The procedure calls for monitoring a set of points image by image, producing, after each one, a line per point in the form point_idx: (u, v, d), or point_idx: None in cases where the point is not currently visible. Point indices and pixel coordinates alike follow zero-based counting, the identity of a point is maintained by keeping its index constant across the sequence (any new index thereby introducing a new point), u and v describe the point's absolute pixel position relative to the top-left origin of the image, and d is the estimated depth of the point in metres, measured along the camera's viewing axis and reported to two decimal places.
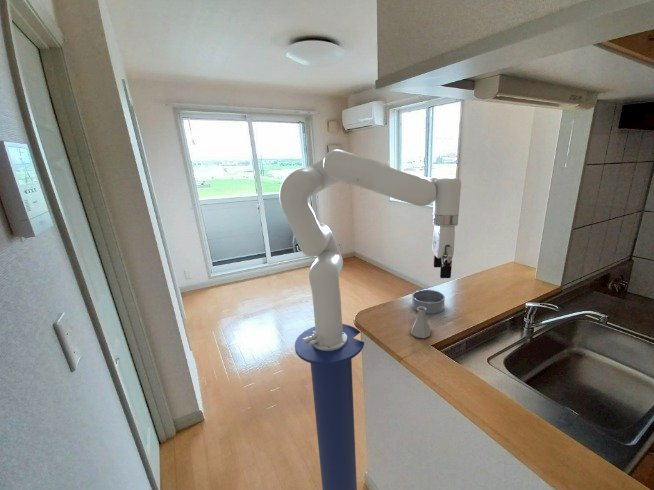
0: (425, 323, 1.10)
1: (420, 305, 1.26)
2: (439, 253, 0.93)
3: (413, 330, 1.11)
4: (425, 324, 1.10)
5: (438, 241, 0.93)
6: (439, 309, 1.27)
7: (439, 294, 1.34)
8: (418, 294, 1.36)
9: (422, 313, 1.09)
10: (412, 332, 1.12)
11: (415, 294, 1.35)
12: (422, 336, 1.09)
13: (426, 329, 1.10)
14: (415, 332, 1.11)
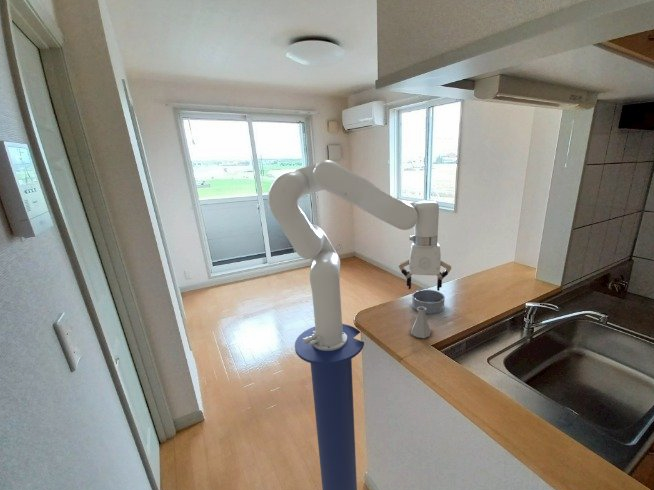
0: (425, 323, 1.10)
1: (420, 305, 1.26)
2: (439, 269, 1.01)
3: (413, 330, 1.11)
4: (425, 324, 1.10)
5: (437, 259, 1.00)
6: (439, 309, 1.27)
7: (439, 294, 1.34)
8: (418, 294, 1.36)
9: (422, 313, 1.09)
10: (412, 332, 1.12)
11: (415, 294, 1.35)
12: (422, 336, 1.09)
13: (426, 329, 1.10)
14: (415, 332, 1.11)
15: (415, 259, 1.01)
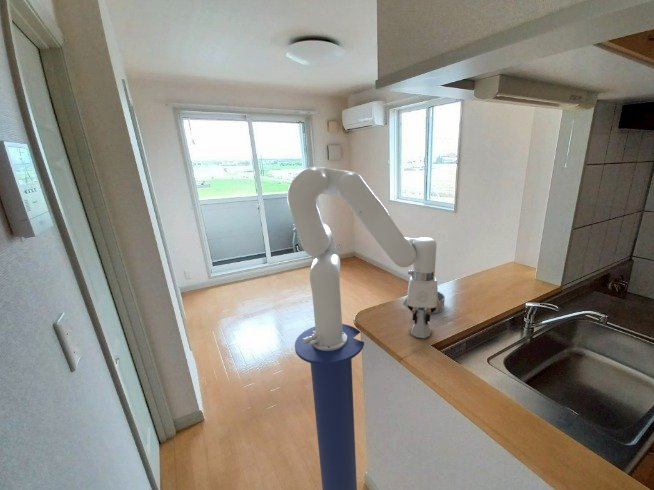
0: (425, 323, 1.10)
1: None
2: (436, 303, 1.05)
3: (413, 330, 1.11)
4: (425, 324, 1.10)
5: (434, 293, 1.04)
6: (439, 309, 1.27)
7: (439, 294, 1.34)
8: None
9: (422, 313, 1.09)
10: (412, 332, 1.12)
11: None
12: (422, 336, 1.09)
13: (426, 329, 1.10)
14: (415, 332, 1.11)
15: (413, 293, 1.05)
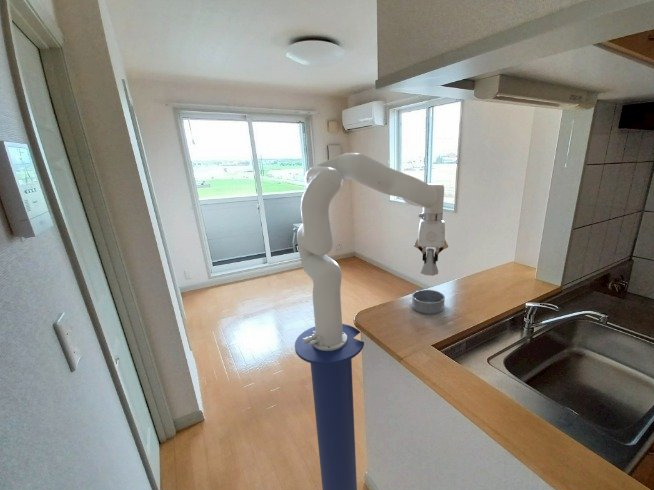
0: (433, 262, 1.23)
1: (420, 305, 1.26)
2: (444, 242, 1.19)
3: (423, 269, 1.25)
4: (433, 263, 1.23)
5: (442, 233, 1.18)
6: (439, 309, 1.27)
7: (439, 294, 1.34)
8: (418, 294, 1.36)
9: (431, 253, 1.22)
10: (422, 271, 1.25)
11: (415, 294, 1.35)
12: (431, 274, 1.23)
13: (434, 268, 1.24)
14: (424, 270, 1.24)
15: (423, 233, 1.19)
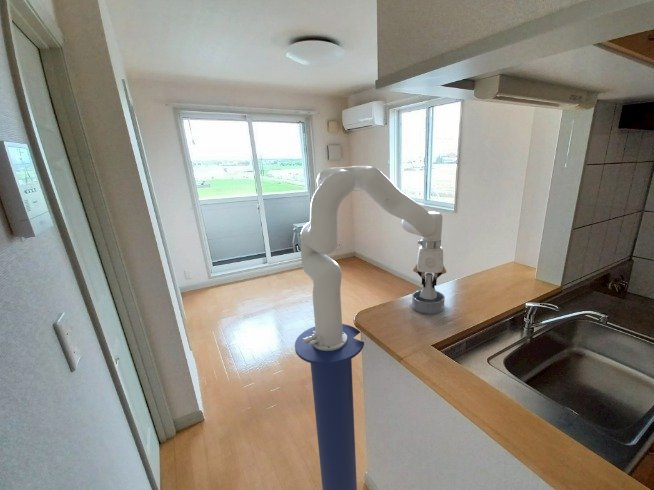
0: (432, 287, 1.28)
1: (420, 305, 1.26)
2: (442, 268, 1.23)
3: (422, 293, 1.29)
4: (432, 287, 1.28)
5: (440, 260, 1.22)
6: (439, 309, 1.27)
7: (439, 294, 1.34)
8: (418, 294, 1.36)
9: (430, 278, 1.27)
10: (421, 295, 1.29)
11: (415, 294, 1.35)
12: (430, 298, 1.27)
13: (433, 292, 1.28)
14: (423, 294, 1.29)
15: (422, 259, 1.23)
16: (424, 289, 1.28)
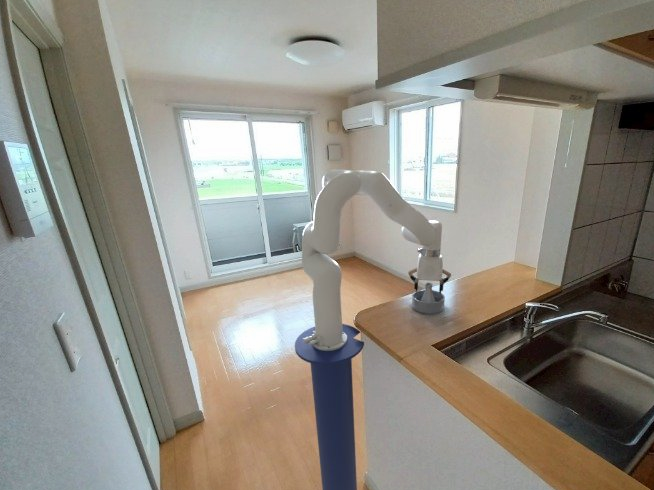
0: (431, 296, 1.29)
1: (420, 305, 1.26)
2: (441, 276, 1.24)
3: None
4: (431, 297, 1.29)
5: (439, 268, 1.23)
6: (439, 309, 1.27)
7: (439, 294, 1.34)
8: (418, 294, 1.36)
9: (429, 287, 1.28)
10: None
11: (415, 294, 1.35)
12: None
13: (432, 301, 1.29)
14: None
15: (422, 267, 1.24)
16: (423, 299, 1.30)
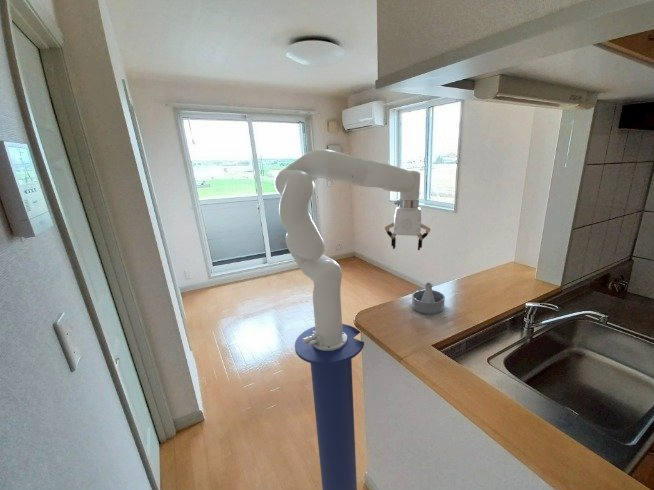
0: (431, 296, 1.29)
1: (420, 305, 1.26)
2: (420, 230, 1.16)
3: None
4: (431, 297, 1.29)
5: (418, 221, 1.14)
6: (439, 309, 1.27)
7: (439, 294, 1.34)
8: (418, 294, 1.36)
9: (429, 287, 1.28)
10: None
11: (415, 294, 1.35)
12: None
13: (432, 301, 1.29)
14: None
15: (399, 220, 1.15)
16: (423, 299, 1.30)
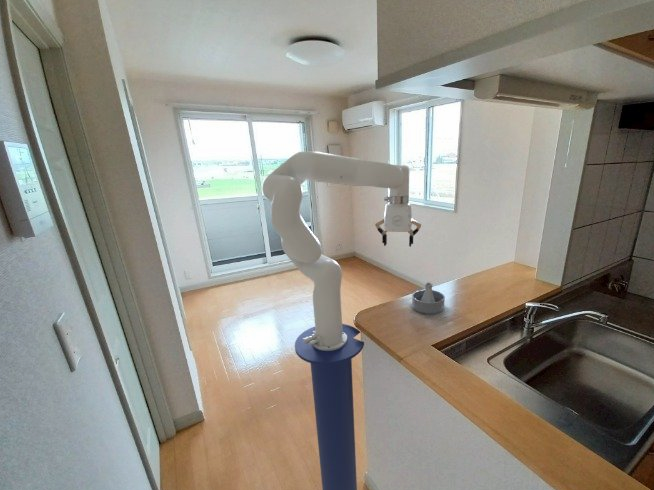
0: (431, 296, 1.29)
1: (420, 305, 1.26)
2: (410, 226, 1.14)
3: None
4: (431, 297, 1.29)
5: (408, 217, 1.13)
6: (439, 309, 1.27)
7: (439, 294, 1.34)
8: (418, 294, 1.36)
9: (429, 287, 1.28)
10: None
11: (415, 294, 1.35)
12: None
13: (432, 301, 1.29)
14: None
15: (389, 217, 1.14)
16: (423, 299, 1.30)
